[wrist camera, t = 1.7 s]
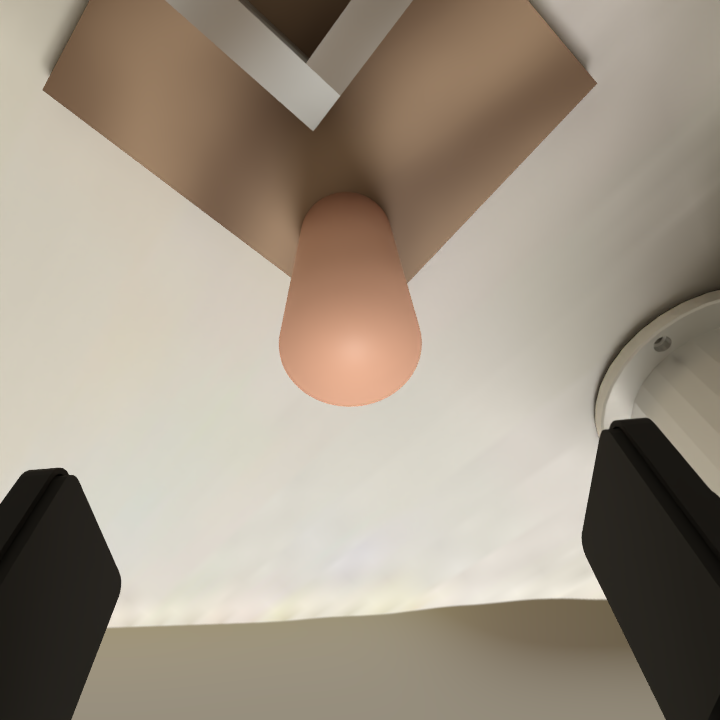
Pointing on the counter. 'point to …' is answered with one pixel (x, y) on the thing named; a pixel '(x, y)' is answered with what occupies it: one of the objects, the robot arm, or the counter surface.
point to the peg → (348, 306)
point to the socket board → (322, 105)
